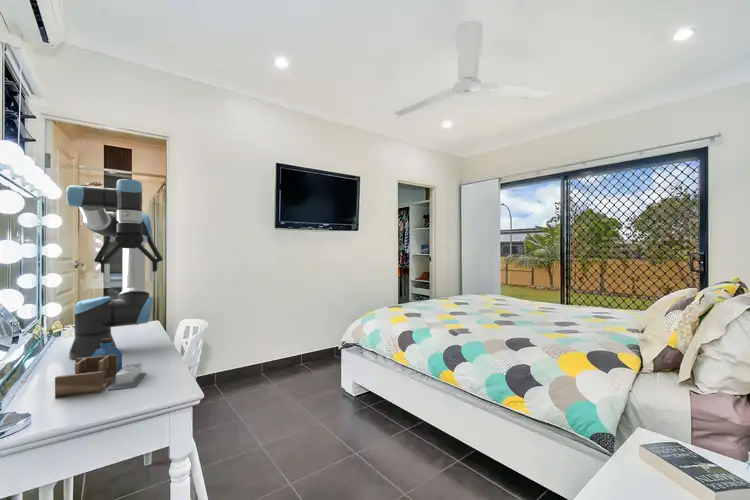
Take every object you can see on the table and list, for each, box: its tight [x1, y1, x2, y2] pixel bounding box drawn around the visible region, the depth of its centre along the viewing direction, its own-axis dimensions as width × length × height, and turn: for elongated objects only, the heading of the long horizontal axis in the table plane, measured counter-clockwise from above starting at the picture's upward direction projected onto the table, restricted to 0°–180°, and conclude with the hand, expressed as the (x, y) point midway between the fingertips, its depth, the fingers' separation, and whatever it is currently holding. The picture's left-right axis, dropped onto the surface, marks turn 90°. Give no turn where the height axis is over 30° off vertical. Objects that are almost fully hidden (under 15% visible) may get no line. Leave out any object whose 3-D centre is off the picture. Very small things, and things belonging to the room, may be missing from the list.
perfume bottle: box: [91, 338, 123, 372], centre depth 120 cm, size 6×6×12 cm
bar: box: [115, 363, 143, 386], centre depth 112 cm, size 10×5×4 cm, turn 22°
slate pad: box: [107, 372, 147, 391], centre depth 111 cm, size 13×7×1 cm, turn 21°
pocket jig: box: [54, 354, 118, 399], centre depth 108 cm, size 14×11×8 cm
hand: (130, 281), depth 124 cm, fingers open, 13 cm apart
